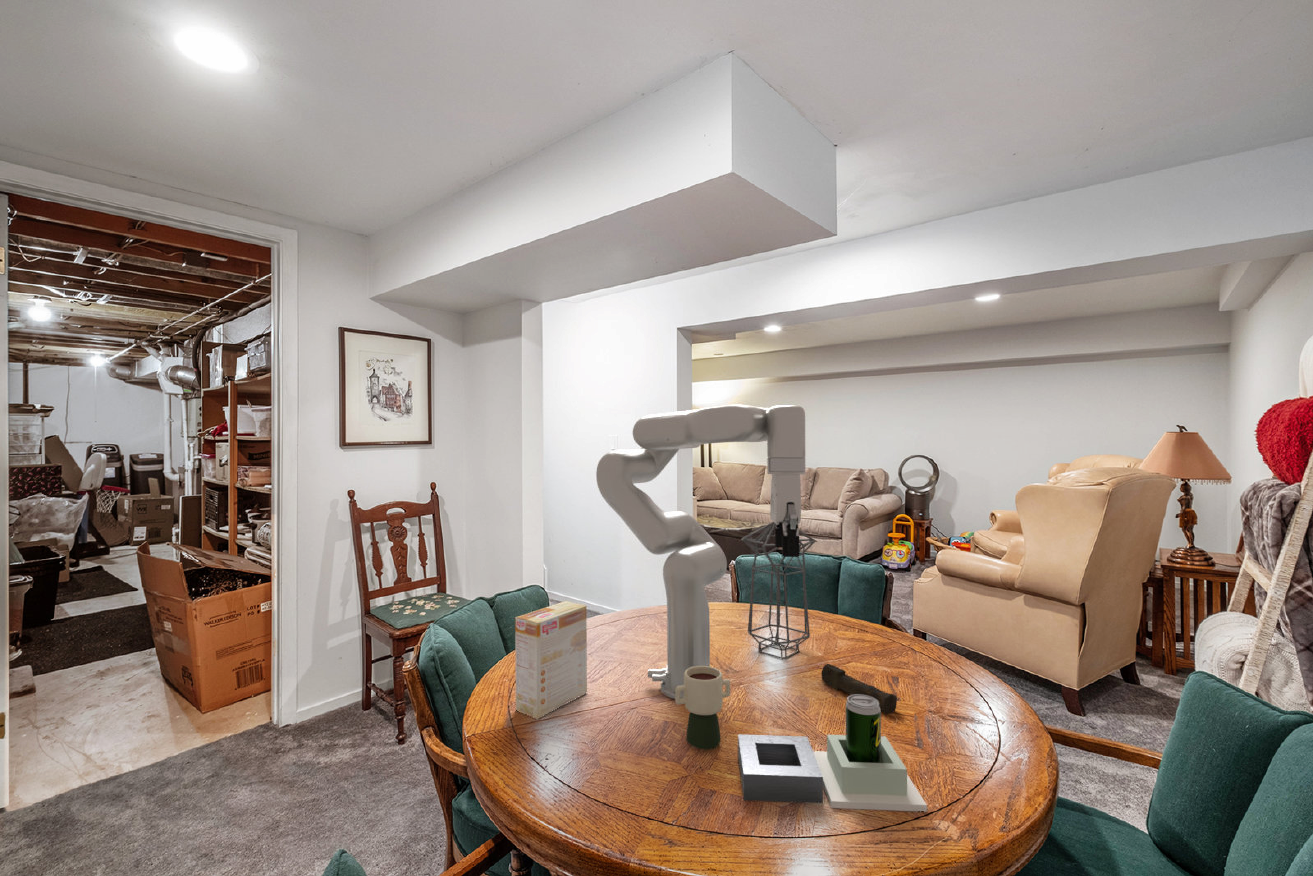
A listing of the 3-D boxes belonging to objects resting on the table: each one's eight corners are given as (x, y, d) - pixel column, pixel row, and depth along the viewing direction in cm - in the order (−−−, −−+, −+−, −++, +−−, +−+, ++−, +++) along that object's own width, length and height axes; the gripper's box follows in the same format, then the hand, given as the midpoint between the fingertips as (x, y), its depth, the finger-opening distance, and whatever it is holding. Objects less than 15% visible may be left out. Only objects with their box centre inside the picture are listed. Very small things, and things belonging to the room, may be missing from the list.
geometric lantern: (737, 650, 150) (737, 519, 152) (772, 638, 161) (772, 515, 162) (787, 667, 139) (786, 524, 140) (821, 652, 149) (820, 520, 151)
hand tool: (898, 712, 116) (898, 690, 116) (885, 717, 114) (885, 693, 114) (830, 679, 132) (830, 659, 133) (817, 682, 131) (817, 662, 131)
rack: (831, 808, 85) (831, 774, 85) (812, 756, 99) (812, 728, 99) (927, 812, 84) (926, 778, 84) (894, 759, 98) (893, 730, 98)
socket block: (743, 800, 87) (743, 774, 87) (738, 757, 99) (737, 734, 99) (823, 803, 86) (822, 777, 86) (807, 759, 98) (807, 736, 98)
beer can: (846, 781, 90) (845, 706, 90) (845, 763, 95) (845, 691, 95) (882, 787, 88) (881, 710, 88) (880, 769, 93) (879, 696, 93)
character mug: (722, 730, 108) (721, 662, 108) (739, 749, 101) (738, 676, 102) (668, 739, 105) (668, 669, 105) (682, 759, 98) (682, 684, 98)
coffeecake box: (565, 686, 129) (565, 600, 129) (588, 693, 124) (588, 605, 125) (513, 711, 116) (513, 616, 117) (537, 720, 112) (537, 622, 112)
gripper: (762, 465, 123) (762, 544, 122) (773, 468, 105) (773, 560, 105) (797, 465, 122) (797, 544, 122) (814, 468, 105) (814, 560, 104)
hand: (786, 551), depth 113 cm, fingers open, 9 cm apart
